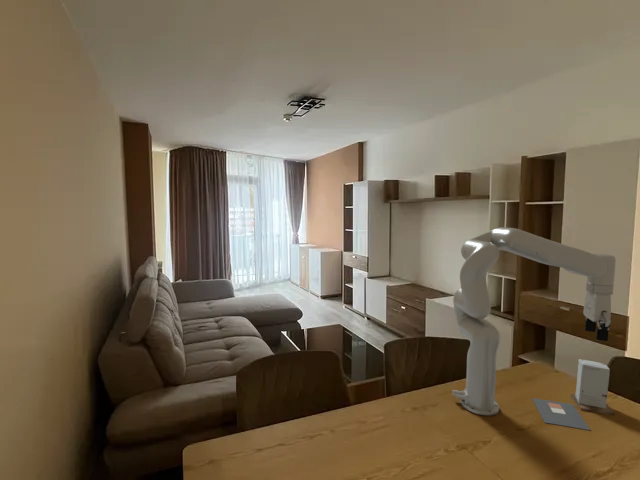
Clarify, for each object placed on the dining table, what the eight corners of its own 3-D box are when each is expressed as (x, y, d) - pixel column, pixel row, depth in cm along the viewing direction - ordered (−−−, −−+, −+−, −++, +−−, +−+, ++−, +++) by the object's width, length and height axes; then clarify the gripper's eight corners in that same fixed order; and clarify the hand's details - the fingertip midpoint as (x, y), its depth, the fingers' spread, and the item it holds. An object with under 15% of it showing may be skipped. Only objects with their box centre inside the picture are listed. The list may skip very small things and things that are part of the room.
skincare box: (578, 403, 127) (581, 364, 126) (574, 396, 132) (577, 358, 131) (607, 409, 123) (610, 369, 122) (602, 401, 129) (605, 362, 128)
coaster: (580, 409, 125) (580, 407, 124) (570, 395, 134) (570, 393, 134) (614, 415, 121) (614, 413, 121) (601, 400, 131) (601, 398, 131)
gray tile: (544, 422, 117) (544, 422, 117) (532, 398, 132) (532, 398, 132) (590, 430, 113) (590, 429, 113) (572, 404, 128) (572, 404, 128)
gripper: (577, 283, 134) (574, 327, 135) (597, 293, 117) (593, 342, 119) (601, 284, 131) (597, 329, 133) (624, 295, 115) (620, 345, 116)
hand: (595, 335), depth 126 cm, fingers open, 9 cm apart
